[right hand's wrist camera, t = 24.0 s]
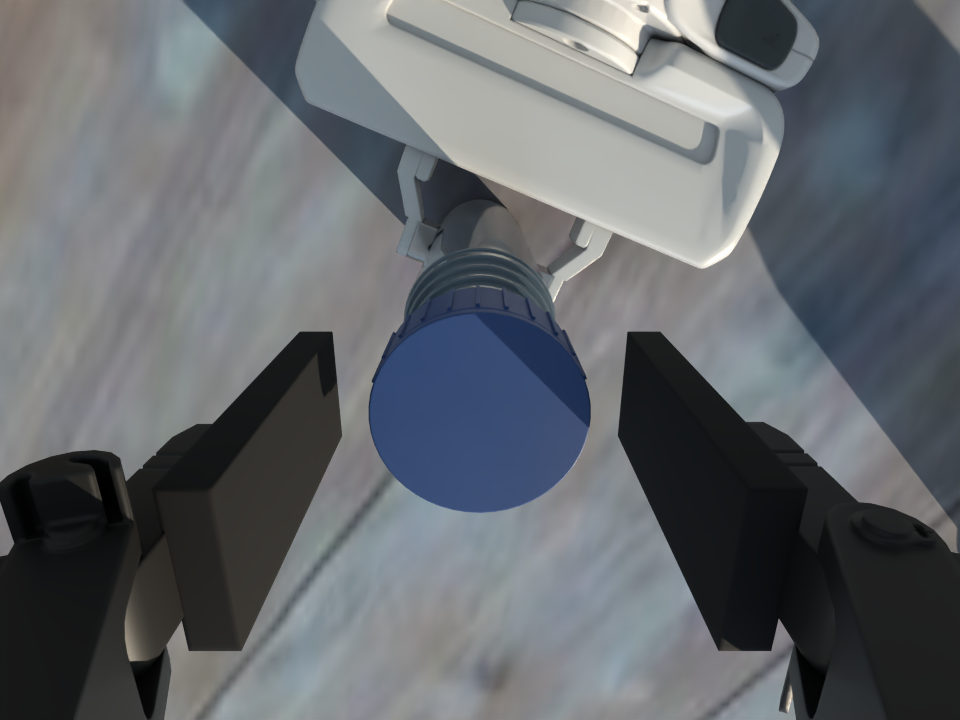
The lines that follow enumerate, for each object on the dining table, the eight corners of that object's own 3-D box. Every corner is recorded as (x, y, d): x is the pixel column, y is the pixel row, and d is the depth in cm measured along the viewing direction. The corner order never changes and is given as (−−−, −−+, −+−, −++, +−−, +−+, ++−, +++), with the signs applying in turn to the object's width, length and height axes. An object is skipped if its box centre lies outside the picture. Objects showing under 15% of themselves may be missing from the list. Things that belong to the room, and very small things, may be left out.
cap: (354, 314, 14) (332, 343, 12) (553, 260, 13) (566, 281, 11) (415, 483, 15) (406, 535, 13) (594, 440, 15) (613, 488, 13)
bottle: (428, 270, 34) (349, 468, 13) (450, 188, 32) (398, 270, 12) (507, 293, 35) (548, 518, 14) (533, 213, 33) (621, 333, 12)
